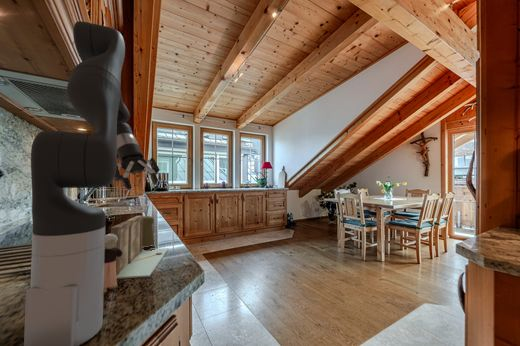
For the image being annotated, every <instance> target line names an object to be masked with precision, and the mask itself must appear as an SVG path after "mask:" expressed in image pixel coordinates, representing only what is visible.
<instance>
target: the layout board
mask: <svg viewBox="0 0 520 346" xmlns="http://www.w3.org/2000/svg"><path fill="white" fill-rule="evenodd" d="M144 249H145V248H142V251H141V252H139V253H138V254H137V255H136V256H135V257H134V258H133V259H132V260H131V261H130V262H128V265H127V266H126V267H125V268H124V269H123V270H122V271H120V274H118V275H117V276H116V277H117V280H119V279H120V280H121V279H122V280H123V279H131V278H132V279H134V278H136V279H137V278H150V277H151V276H152V274H153V273H154V271H155V270H156V268H157V267H158V265H159V264H160V263H161V261H162V260H163V258H164V257H165V256H166V254H167V253H168V251H169V250H170V248H169V247H167V248H165V247H164V248H163V247H162V248H154V249H155V250H152V251H145V250H144ZM168 249H169V250H168ZM164 255H165V256H164Z"/></svg>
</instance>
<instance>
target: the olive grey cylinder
mask: <svg viewBox="0 0 520 346" xmlns="http://www.w3.org/2000/svg"><path fill="white" fill-rule="evenodd" d="M154 223H155V219H154V217H153V216H151V215H143V229H142V246H149V245H153V244H154V243H155V236H154V228H153V224H154Z"/></svg>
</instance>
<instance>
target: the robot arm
mask: <svg viewBox="0 0 520 346" xmlns="http://www.w3.org/2000/svg"><path fill="white" fill-rule="evenodd" d="M72 35H73V43H74V46H75V49H76V52H77V54H78V56H79V59H80V61H81V62H79V63H78V64H76V65H75V66H74V67H73V69H72V71H71V72H70V75H69V79H68V82H67V86H66V95H67V98H68V100H69V102H70V104H71V106H72V107H73V108H74V109H75V111H76V112H77V113H78V114H79V116H81V117H82V119H84V121H86V122H87V124H88V125H89V126H90V127H91V129H92V131H93V132H94V134H93V133H83V132H71V131H61V130H60V131H59V130H42V131H39V132H38V133H37V134H36V135H35V137H34V139H33V142H32V144H31V149H30V172H31V177H30V178H31V197H32V198H31V216H32V236H31V237H32V241H31V263H30V288H29V289H28V290H26V292H25V305H24V306H25V307H24V308H25V310H24V335H23V338H24V339H23V340H24V341H23V346H80V345H83V344H85V342H88V341H89V340H90V339H92V338H93V337H95V335H97V334H98V333H99V331H100V330H101V329H102V327H103V319H104V318H103V317H104V315H103V314H104V293H103V291H104V255H105V235H106V220H107V219H106V217H107V215H106V212H105V210H103V209H101V208H98V207H95V206H90V205H87V204H83V203H81V202H78V201H76V200H73V199H71V198H70V197H68V196H67V195H66V193H65V190H64V189H74V188H76V189H83V188H84V189H85V188H89V189H90V188H91V189H92V188H93V189H95V188H96V189H97V188H105V187H108V186H110V185H111V184H112V183H113V182H114V180H115V181H116V182H118V181H121V182H122V183H123V186H124V188H125V189H126V190H127V191H131V190H132V188H133V187H132V184H131V182H130V179H129V175H130V174H132V175H133V174H138V173H139V174H141V173H143V174H146V175H149V177H150V180H151V182H152V184H153V186H156V185H157V184H158V182H159V179H158V176H157V175H158V174H159V172H160V167H159V166H158V164H157V161H156V160H155V158H154V157H151V158H150V159H146V158H145V157H144V155H143V151H142V150H141V147H140V146H139V143H138V141H137V139H136V137H135V135H134V133H133V131H132V128H131V126H130V125H129V124H128V123H126V122H128V121H129V120H130V119H131V118H130V117H131V113H130V111H129V109H128V108H127V106H126V104H125V103H124V102H123V98H122V97H123V96H122V91H121V90H122V89H121V85H122V82H121V81H122V70H123V65H124V62H125V56H126V45H125V40H124V37H123V35H122V34H121V32H120V31H118V30H117V29H116V28H113V27H111V26H106V25H103V24H102V25H101V24H97V23H92V22H88V21H81V20H79V21H76V22H75V23H74V24H73V32H72ZM118 158H119V161H120V163H118ZM121 168H122V169H123V170H125V171H124V173H123V174H121V173H120V171H119V170H120V169H121Z"/></svg>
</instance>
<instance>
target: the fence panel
mask: <svg viewBox="0 0 520 346" xmlns="http://www.w3.org/2000/svg"><path fill="white" fill-rule="evenodd" d="M143 217H144V215H136V216H134V217H131V218H129V219H127V220H125V221H124V222H130V225H129V239H128V262H130V261H131V260H132V259H133V258H134V257H135V256H136V255H137V254H138V253H139V252H141V251H142V249H143V248H142V229H143Z"/></svg>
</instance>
